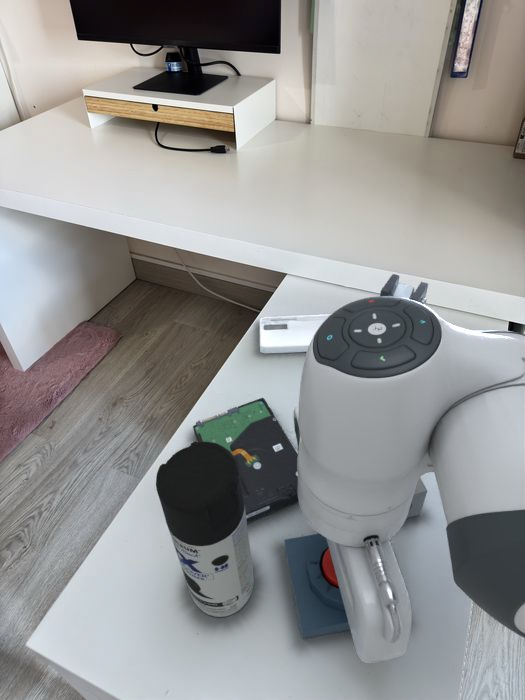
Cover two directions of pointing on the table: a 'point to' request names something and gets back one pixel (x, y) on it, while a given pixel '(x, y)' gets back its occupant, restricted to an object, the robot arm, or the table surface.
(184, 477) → the spray can
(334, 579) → the button
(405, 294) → the lever
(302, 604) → the button box
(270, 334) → the phone case
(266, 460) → the disk drive
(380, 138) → the table surface
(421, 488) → the dice cube
